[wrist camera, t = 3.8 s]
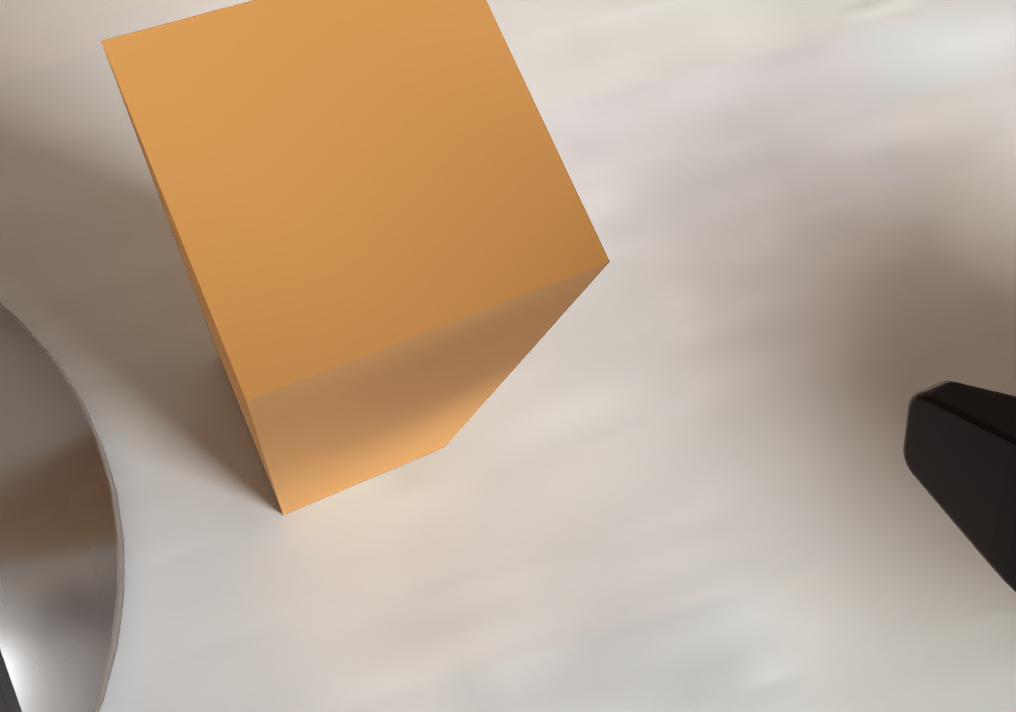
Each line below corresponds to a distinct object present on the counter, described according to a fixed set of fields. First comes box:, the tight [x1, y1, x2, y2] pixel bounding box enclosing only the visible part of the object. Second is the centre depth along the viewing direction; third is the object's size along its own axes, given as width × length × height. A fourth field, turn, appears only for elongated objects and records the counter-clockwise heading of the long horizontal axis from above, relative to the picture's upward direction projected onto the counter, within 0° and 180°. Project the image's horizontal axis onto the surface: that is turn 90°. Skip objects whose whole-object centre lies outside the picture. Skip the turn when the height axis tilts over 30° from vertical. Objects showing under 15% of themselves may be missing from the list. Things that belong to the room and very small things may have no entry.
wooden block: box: [101, 0, 610, 515], centre depth 15 cm, size 4×4×12 cm
